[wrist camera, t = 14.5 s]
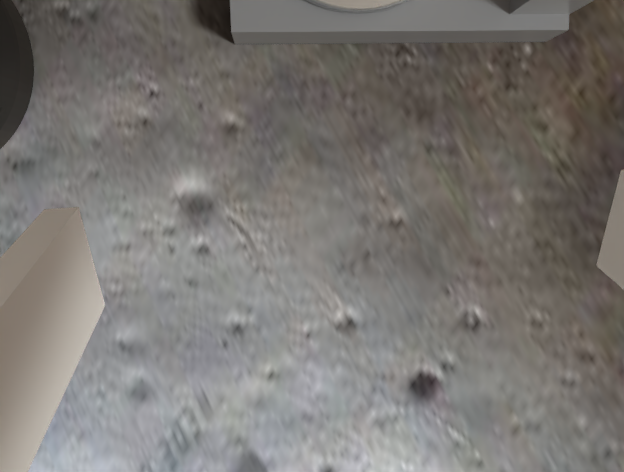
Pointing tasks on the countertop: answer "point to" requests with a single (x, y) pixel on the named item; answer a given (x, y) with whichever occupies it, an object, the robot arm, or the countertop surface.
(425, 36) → the scale
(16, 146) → the countertop surface
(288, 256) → the countertop surface
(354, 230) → the countertop surface
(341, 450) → the countertop surface
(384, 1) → the scale pan
